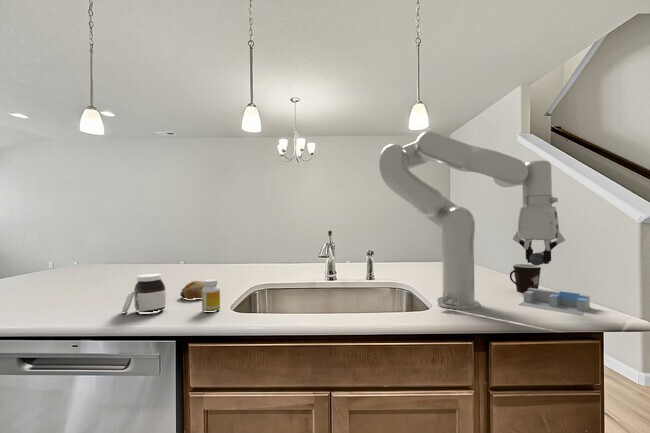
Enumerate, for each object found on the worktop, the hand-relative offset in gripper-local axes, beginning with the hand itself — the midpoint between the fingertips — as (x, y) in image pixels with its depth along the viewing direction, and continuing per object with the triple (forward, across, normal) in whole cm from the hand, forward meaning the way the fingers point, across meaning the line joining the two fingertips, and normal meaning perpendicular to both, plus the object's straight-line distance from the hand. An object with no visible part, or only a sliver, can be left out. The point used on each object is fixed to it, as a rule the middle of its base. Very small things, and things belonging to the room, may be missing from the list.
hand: (538, 262), depth 104 cm
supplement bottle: (+14, +72, +70) cm, 102 cm away
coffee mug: (+15, +10, -19) cm, 26 cm away
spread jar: (+14, +86, +86) cm, 123 cm away
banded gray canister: (+1, 0, -2) cm, 2 cm away
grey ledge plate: (+14, -3, -5) cm, 15 cm away
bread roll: (+14, +93, +67) cm, 115 cm away
